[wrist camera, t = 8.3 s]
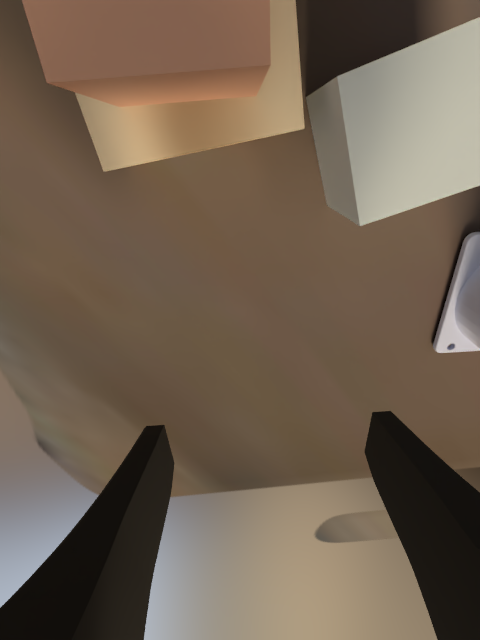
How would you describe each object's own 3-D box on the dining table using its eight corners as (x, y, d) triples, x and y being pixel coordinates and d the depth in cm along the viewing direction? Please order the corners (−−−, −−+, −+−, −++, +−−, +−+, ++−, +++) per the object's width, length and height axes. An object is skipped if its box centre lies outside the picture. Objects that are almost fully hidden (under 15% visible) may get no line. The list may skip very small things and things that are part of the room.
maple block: (264, -120, 11) (278, -238, 8) (288, 132, 15) (304, 128, 12) (58, -63, 12) (-13, -149, 8) (132, 166, 16) (104, 171, 12)
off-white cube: (416, 52, 14) (503, 7, 9) (422, 171, 16) (493, 180, 12) (305, 97, 14) (337, 76, 10) (326, 205, 17) (360, 226, 12)
